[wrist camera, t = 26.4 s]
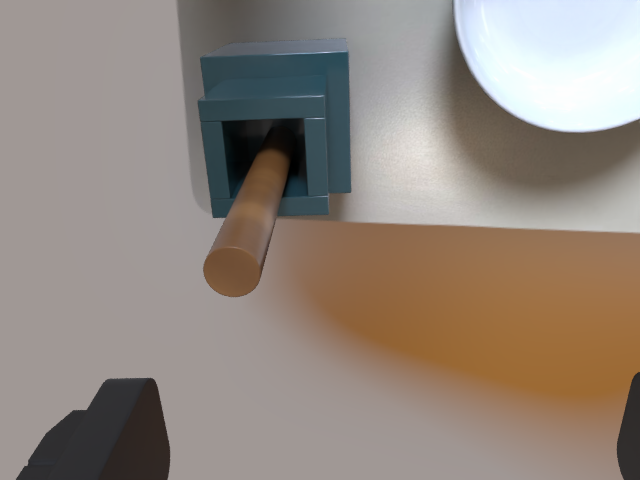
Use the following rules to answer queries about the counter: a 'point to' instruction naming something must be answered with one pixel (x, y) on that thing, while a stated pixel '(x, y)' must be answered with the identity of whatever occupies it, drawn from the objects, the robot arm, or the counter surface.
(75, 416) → the robot arm
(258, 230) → the stick
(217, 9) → the counter surface
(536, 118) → the serving bowl
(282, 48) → the utensil holder
